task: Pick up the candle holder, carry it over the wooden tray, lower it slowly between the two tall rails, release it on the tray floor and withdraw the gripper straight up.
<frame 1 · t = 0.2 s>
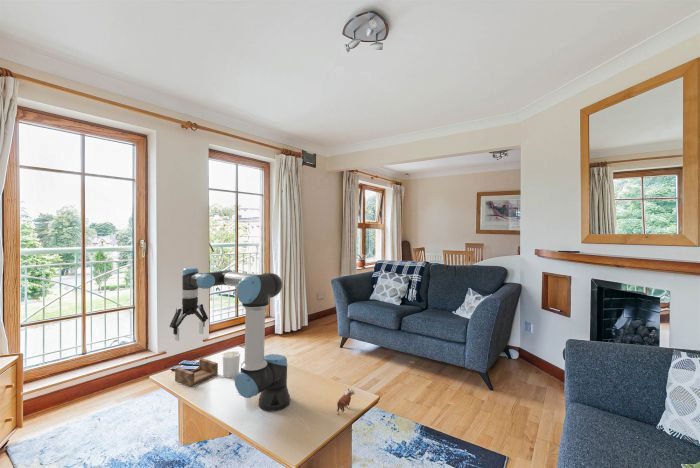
hand: (189, 336, 170), 28 cm above the table, fingers open, 13 cm apart
bull figurine: (345, 410, 153), on the table
candle holder: (230, 375, 187), on the table
wooden tray: (196, 377, 182), on the table
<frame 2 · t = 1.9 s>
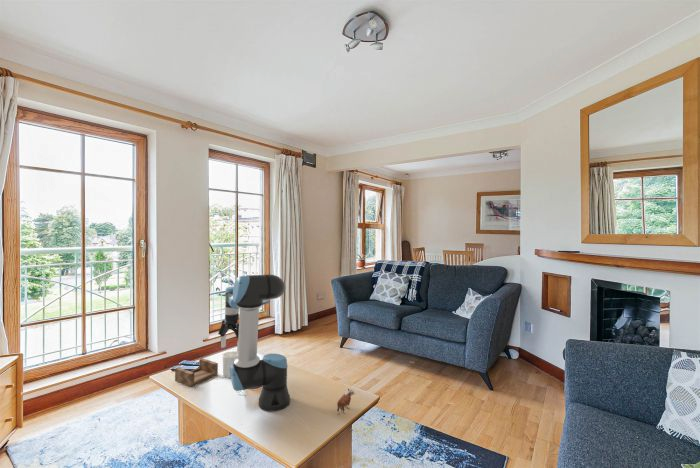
hand: (231, 349, 188), 15 cm above the table, fingers open, 13 cm apart
nothing on the table moved.
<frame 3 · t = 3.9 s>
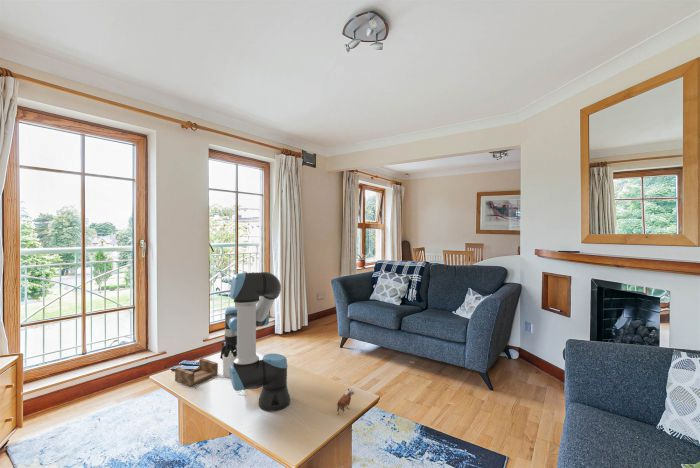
hand: (231, 373, 187), 1 cm above the table, fingers closed on candle holder, 9 cm apart
candle holder: (231, 375, 187), on the table, touching gripper
everything else where it was.
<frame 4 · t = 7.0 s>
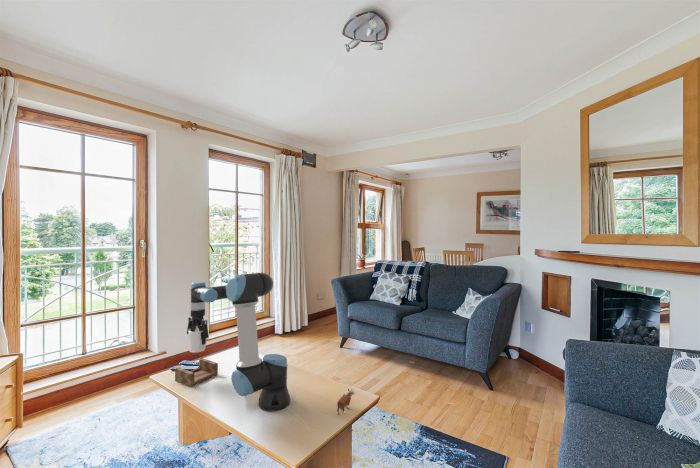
hand: (197, 348, 182), 17 cm above the table, fingers closed on candle holder, 9 cm apart
candle holder: (197, 350, 182), point 16 cm above the table, touching gripper
everything else where it was.
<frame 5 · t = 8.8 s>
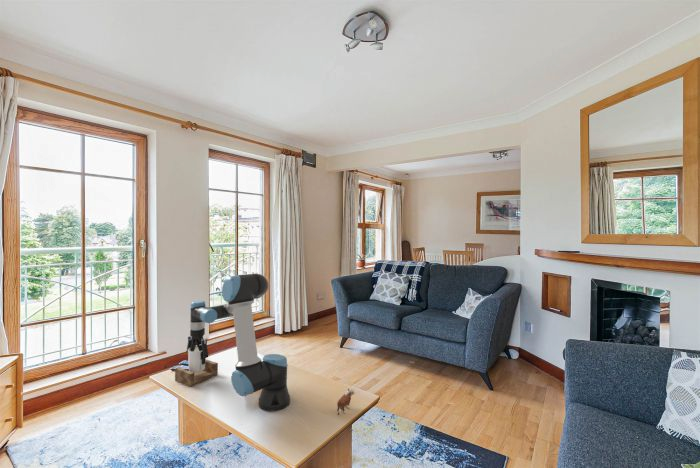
hand: (196, 367, 182), 6 cm above the table, fingers closed on candle holder, 9 cm apart
candle holder: (196, 369, 182), point 5 cm above the table, touching gripper
everything else where it was.
when the fingers open (4 cm above the table, at t = 10.1 s): candle holder drops 2 cm, resting on wooden tray.
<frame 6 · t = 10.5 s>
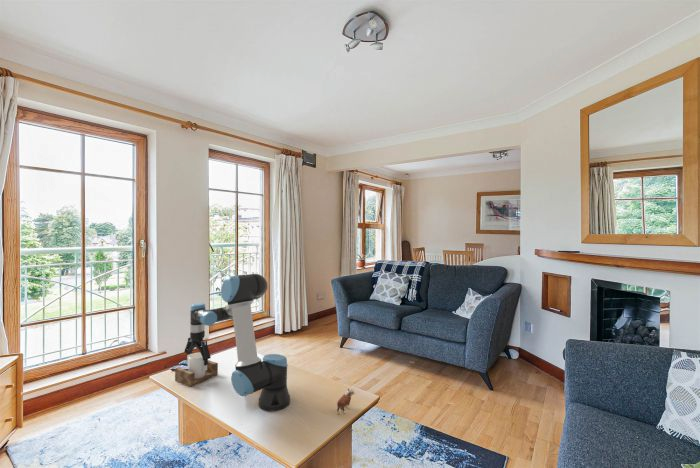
hand: (196, 368, 182), 6 cm above the table, fingers open, 13 cm apart
candle holder: (197, 376, 182), point 1 cm above the table, touching wooden tray
everything else where it was.
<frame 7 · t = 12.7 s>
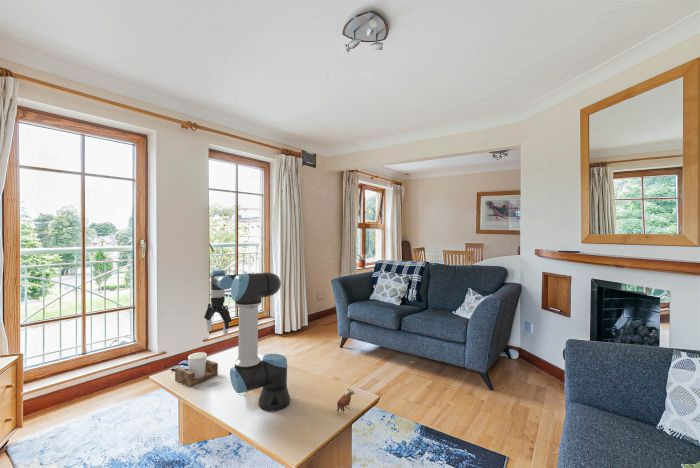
hand: (217, 332, 187), 25 cm above the table, fingers open, 13 cm apart
nothing on the table moved.
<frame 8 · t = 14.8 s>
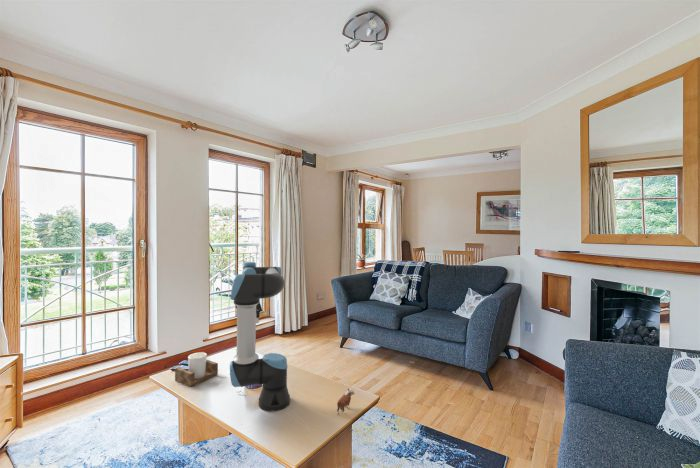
hand: (248, 321, 197), 29 cm above the table, fingers open, 13 cm apart
nothing on the table moved.
at the end: candle holder inside the target area on the wooden tray (0.3 cm from its centre), point 0.8 cm above the wooden tray's base; candle holder tilted 0°; the gripper is holding nothing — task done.
